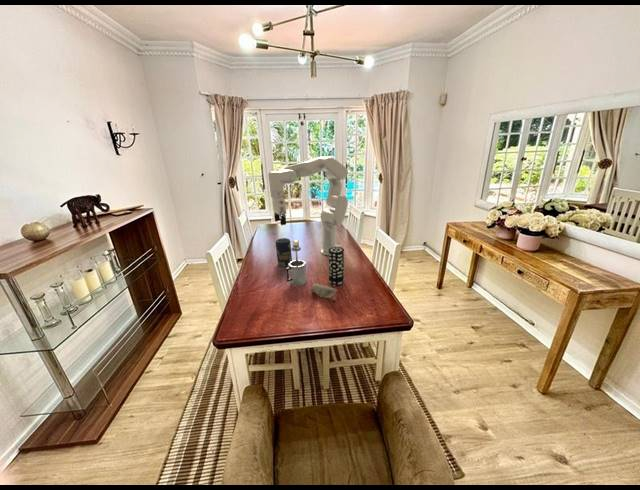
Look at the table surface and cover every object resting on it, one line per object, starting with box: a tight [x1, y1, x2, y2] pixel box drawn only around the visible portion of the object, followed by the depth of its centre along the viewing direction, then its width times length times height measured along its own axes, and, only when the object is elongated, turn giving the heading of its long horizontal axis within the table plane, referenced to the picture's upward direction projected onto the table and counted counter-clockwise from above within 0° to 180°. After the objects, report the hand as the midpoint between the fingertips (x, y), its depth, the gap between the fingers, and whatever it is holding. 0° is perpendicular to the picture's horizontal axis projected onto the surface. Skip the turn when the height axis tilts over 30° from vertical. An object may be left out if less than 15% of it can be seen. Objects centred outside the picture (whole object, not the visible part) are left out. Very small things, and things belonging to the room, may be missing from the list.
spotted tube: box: [328, 247, 345, 287], centre depth 138 cm, size 8×8×20 cm
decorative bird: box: [311, 283, 339, 304], centre depth 127 cm, size 5×16×7 cm, turn 51°
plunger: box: [291, 239, 302, 267], centre depth 136 cm, size 6×6×16 cm
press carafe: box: [285, 259, 307, 287], centre depth 140 cm, size 11×9×12 cm
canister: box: [275, 237, 293, 267], centre depth 162 cm, size 10×10×18 cm
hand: (280, 222), depth 148 cm, fingers open, 9 cm apart
